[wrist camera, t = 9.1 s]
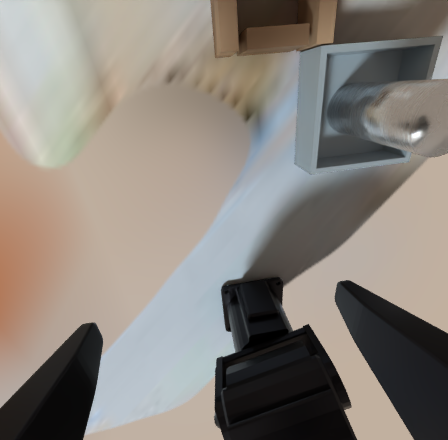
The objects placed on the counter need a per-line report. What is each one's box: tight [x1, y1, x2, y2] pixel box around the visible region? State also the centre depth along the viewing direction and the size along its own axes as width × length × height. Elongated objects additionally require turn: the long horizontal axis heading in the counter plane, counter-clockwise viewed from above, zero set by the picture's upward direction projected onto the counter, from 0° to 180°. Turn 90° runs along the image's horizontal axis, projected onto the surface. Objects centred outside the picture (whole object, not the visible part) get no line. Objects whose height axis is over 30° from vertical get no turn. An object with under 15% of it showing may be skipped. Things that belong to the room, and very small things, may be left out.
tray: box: [295, 36, 443, 175], centre depth 18 cm, size 8×8×3 cm
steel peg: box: [327, 79, 448, 157], centre depth 15 cm, size 4×4×8 cm
